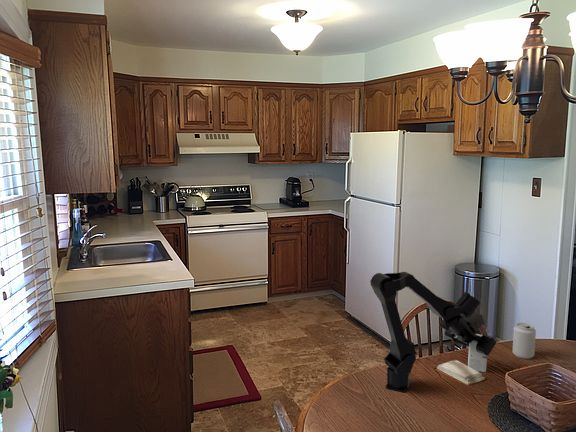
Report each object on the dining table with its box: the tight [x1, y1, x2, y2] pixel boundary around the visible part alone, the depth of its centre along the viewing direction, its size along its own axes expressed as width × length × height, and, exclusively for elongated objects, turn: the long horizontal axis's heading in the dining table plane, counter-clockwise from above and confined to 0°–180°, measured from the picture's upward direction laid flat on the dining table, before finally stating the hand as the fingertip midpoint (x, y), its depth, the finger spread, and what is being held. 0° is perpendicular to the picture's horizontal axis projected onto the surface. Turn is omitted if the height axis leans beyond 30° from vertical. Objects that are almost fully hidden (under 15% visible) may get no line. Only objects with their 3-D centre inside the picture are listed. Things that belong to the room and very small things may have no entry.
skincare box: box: [467, 333, 488, 373], centre depth 172 cm, size 6×4×12 cm
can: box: [512, 322, 537, 360], centre depth 182 cm, size 8×8×12 cm
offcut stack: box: [436, 359, 486, 386], centre depth 169 cm, size 8×14×2 cm, turn 27°
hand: (480, 350), depth 172 cm, fingers closed on skincare box, 7 cm apart
